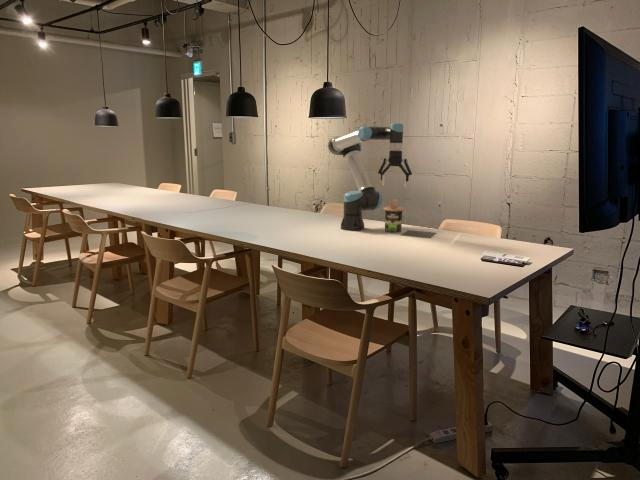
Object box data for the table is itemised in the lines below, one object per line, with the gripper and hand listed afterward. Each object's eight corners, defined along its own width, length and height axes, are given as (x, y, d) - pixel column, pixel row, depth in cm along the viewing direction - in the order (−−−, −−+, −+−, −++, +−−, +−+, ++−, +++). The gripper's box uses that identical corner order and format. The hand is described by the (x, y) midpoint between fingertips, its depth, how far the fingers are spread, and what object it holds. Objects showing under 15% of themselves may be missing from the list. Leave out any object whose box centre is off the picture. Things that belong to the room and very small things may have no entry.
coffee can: (400, 234, 284) (401, 211, 281) (383, 233, 287) (384, 210, 284) (402, 231, 294) (403, 208, 291) (385, 230, 296) (386, 208, 293)
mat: (399, 236, 279) (399, 235, 279) (408, 230, 295) (408, 230, 295) (430, 239, 272) (430, 238, 272) (437, 233, 288) (437, 232, 288)
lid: (380, 210, 284) (380, 200, 283) (386, 207, 296) (386, 198, 294) (401, 211, 279) (402, 201, 278) (407, 208, 291) (407, 199, 289)
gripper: (373, 150, 282) (372, 185, 287) (415, 151, 272) (413, 188, 276) (377, 149, 289) (376, 184, 293) (418, 150, 278) (416, 186, 283)
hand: (394, 186), depth 285 cm, fingers open, 13 cm apart
